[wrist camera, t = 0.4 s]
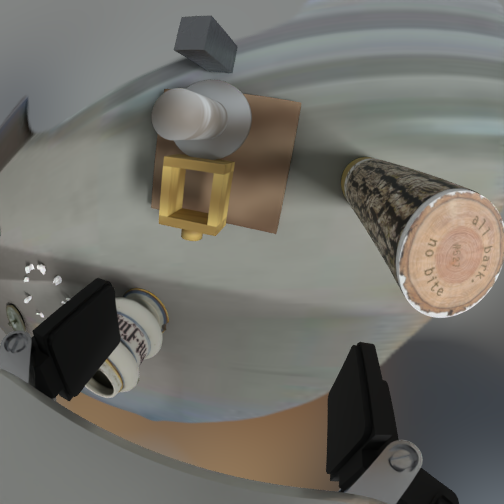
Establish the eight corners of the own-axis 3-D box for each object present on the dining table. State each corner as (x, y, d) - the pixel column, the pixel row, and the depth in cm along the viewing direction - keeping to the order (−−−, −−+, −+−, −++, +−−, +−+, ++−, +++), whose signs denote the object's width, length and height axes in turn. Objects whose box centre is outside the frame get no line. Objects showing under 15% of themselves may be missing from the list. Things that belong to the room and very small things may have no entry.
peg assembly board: (169, 87, 34) (99, 68, 19) (301, 100, 32) (298, 71, 18) (156, 206, 41) (89, 243, 26) (276, 231, 39) (258, 287, 25)
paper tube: (386, 154, 32) (509, 186, 9) (392, 205, 34) (496, 305, 12) (336, 159, 34) (395, 196, 11) (343, 211, 36) (395, 327, 13)
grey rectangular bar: (214, 45, 30) (181, 17, 20) (237, 46, 30) (211, 15, 20) (209, 71, 32) (173, 50, 22) (232, 73, 32) (204, 49, 22)
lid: (25, 331, 67) (18, 342, 63) (4, 310, 62) (-4, 320, 58) (34, 322, 64) (27, 334, 59) (11, 299, 59) (3, 310, 55)
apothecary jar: (169, 348, 51) (126, 417, 34) (116, 321, 51) (64, 379, 35) (180, 299, 46) (125, 373, 30) (120, 271, 46) (53, 328, 30)
